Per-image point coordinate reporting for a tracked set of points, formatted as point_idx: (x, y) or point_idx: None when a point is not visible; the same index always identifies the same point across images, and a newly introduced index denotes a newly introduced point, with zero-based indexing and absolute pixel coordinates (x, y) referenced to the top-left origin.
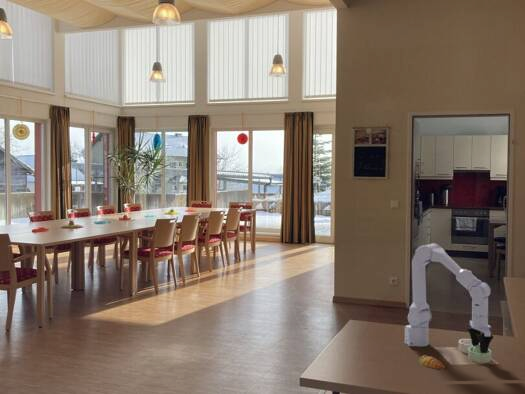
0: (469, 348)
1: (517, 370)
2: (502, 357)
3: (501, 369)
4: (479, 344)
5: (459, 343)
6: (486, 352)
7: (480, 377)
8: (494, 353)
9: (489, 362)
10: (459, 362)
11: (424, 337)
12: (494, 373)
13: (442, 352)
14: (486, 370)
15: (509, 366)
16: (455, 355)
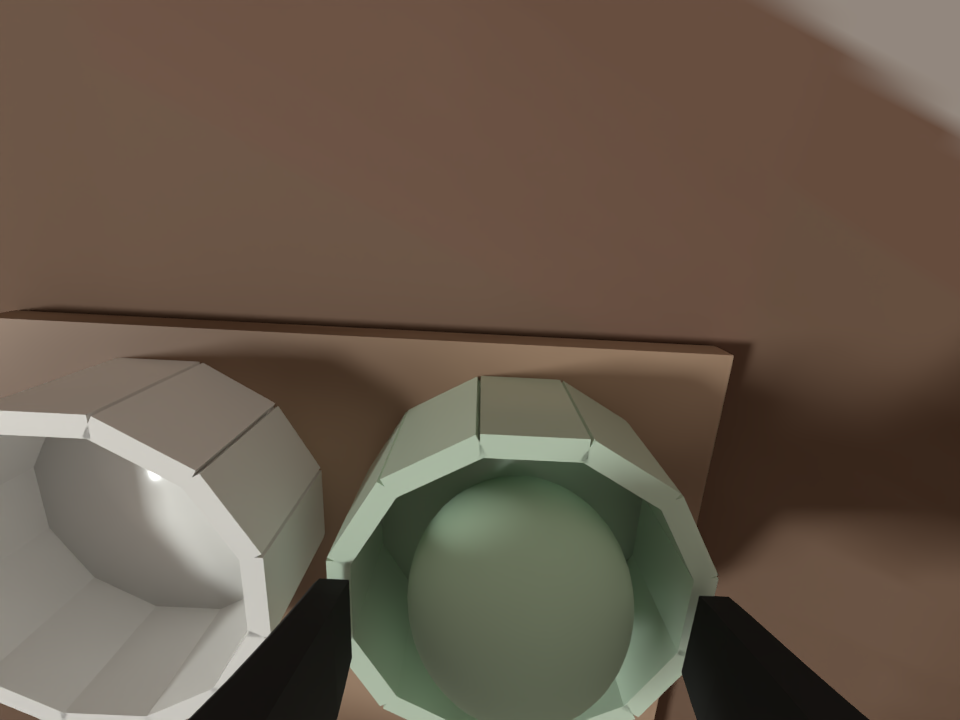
0: (422, 712)
1: (910, 154)
2: (371, 89)
3: (807, 358)
4: (200, 484)
5: (120, 706)
6: (734, 607)
7: (927, 664)
8: (187, 128)
9: (651, 448)
10: None
11: None
12: (889, 496)
13: None
14: (783, 537)
15: (742, 189)
16: (369, 703)
